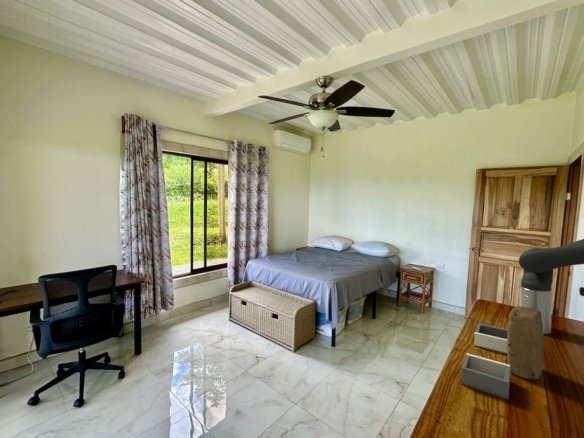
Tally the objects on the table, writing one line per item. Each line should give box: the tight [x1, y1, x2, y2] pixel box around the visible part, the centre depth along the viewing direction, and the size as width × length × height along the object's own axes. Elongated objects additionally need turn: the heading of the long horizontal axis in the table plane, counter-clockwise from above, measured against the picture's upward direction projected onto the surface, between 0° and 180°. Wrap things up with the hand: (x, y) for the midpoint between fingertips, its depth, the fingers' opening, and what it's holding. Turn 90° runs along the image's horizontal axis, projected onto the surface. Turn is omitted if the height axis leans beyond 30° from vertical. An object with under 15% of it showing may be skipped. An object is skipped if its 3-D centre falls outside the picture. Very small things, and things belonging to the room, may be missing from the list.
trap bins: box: [460, 323, 511, 401], centre depth 92 cm, size 37×11×5 cm, turn 140°
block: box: [506, 305, 545, 380], centre depth 86 cm, size 11×8×20 cm
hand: (579, 291), depth 78 cm, fingers closed
